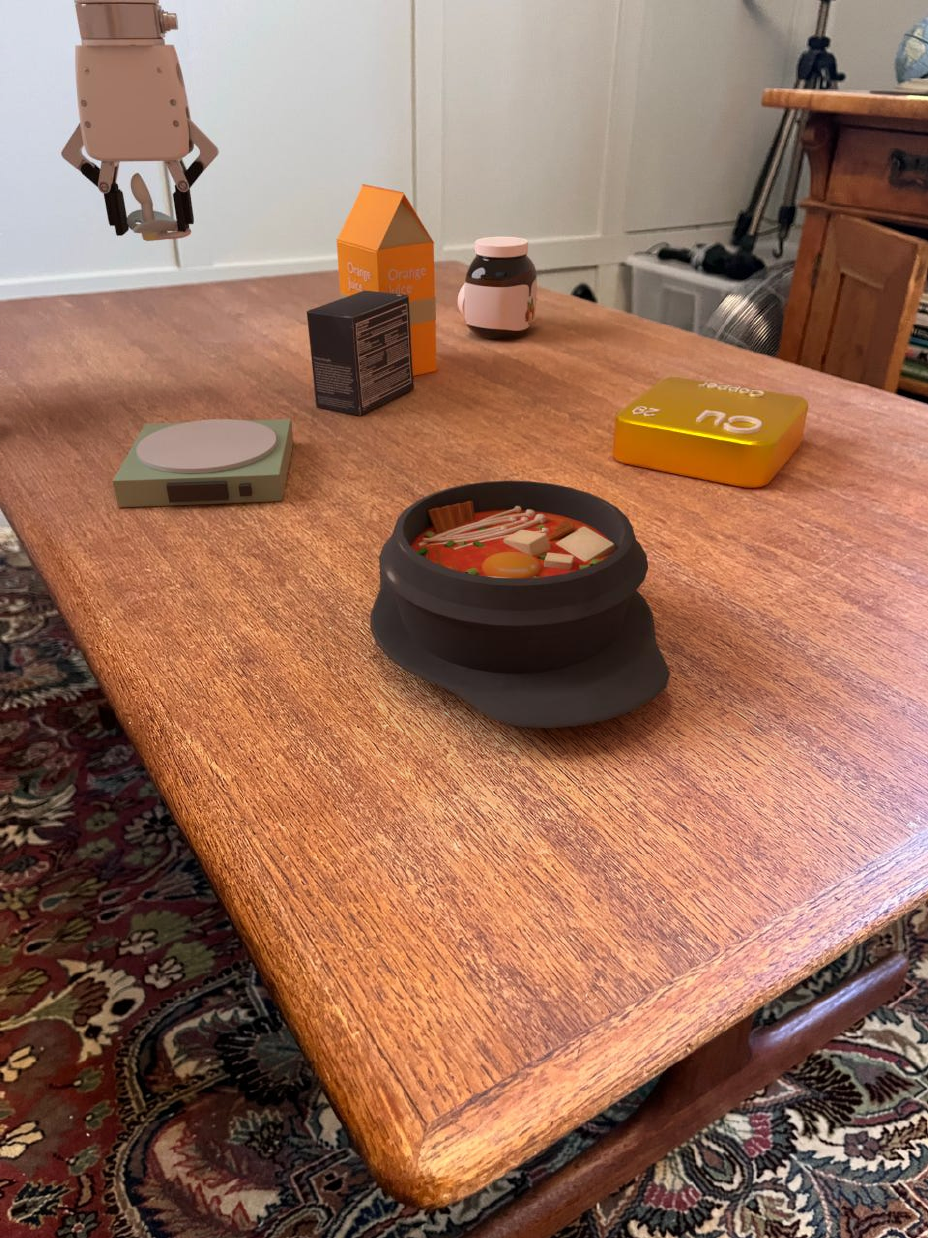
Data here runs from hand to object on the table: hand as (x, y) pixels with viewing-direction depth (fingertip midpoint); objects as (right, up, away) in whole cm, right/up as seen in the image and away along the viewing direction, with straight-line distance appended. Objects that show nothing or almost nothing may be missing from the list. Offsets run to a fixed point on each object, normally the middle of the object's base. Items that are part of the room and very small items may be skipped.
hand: (153, 230), depth 101 cm
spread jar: (+36, -1, +32) cm, 48 cm away
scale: (+9, -27, -10) cm, 30 cm away
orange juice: (+23, -10, +17) cm, 31 cm away
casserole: (+35, -41, -35) cm, 65 cm away
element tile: (+55, -24, -6) cm, 61 cm away
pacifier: (+1, -1, +1) cm, 1 cm away
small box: (+21, -16, +8) cm, 27 cm away
